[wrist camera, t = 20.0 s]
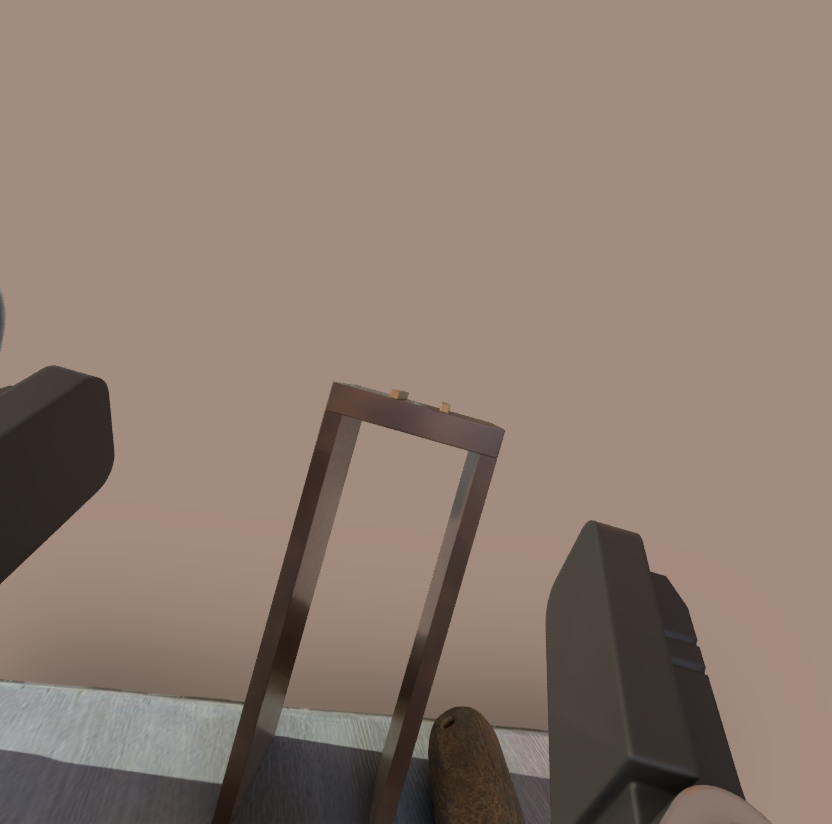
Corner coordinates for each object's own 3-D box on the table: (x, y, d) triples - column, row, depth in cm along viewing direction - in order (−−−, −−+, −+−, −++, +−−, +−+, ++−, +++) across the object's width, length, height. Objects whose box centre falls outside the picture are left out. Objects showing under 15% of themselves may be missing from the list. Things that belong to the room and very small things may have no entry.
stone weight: (407, 759, 52) (427, 690, 51) (478, 771, 53) (498, 704, 53) (436, 916, 37) (464, 820, 37) (534, 928, 38) (562, 836, 38)
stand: (210, 826, 39) (335, 372, 38) (261, 732, 50) (359, 378, 49) (376, 879, 38) (507, 421, 37) (391, 772, 49) (492, 416, 48)
